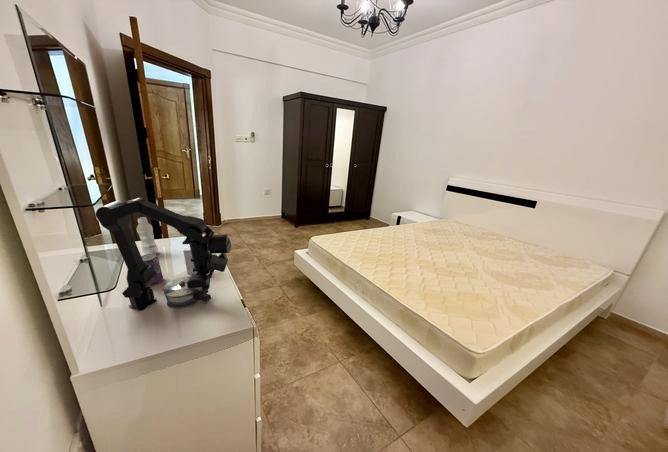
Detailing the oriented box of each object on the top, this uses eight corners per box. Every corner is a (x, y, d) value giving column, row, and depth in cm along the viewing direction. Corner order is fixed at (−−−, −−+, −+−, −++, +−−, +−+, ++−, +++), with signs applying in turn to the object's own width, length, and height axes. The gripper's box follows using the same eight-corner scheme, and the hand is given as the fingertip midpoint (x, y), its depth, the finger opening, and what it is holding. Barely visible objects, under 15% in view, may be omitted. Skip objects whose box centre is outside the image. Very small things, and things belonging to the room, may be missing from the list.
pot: (197, 316, 91) (194, 305, 89) (159, 304, 96) (156, 293, 94) (221, 296, 102) (220, 285, 100) (186, 286, 107) (184, 276, 105)
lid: (192, 304, 89) (191, 299, 88) (155, 292, 94) (154, 287, 93) (218, 285, 100) (218, 280, 99) (184, 275, 105) (183, 270, 104)
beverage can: (161, 275, 114) (155, 251, 110) (165, 282, 110) (159, 257, 105) (142, 281, 110) (135, 256, 105) (145, 288, 105) (138, 263, 100)
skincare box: (187, 274, 116) (182, 250, 111) (190, 269, 120) (186, 246, 115) (201, 273, 116) (196, 250, 112) (204, 268, 121) (200, 245, 116)
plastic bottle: (153, 257, 128) (144, 220, 121) (140, 257, 128) (130, 220, 121) (162, 251, 134) (153, 216, 127) (149, 251, 134) (140, 215, 127)
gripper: (218, 265, 85) (224, 302, 91) (229, 240, 101) (234, 273, 107) (182, 267, 83) (191, 305, 89) (199, 242, 99) (205, 275, 105)
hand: (207, 288), depth 98 cm, fingers closed
